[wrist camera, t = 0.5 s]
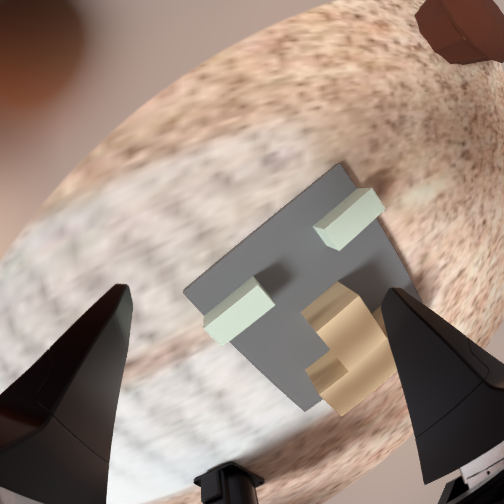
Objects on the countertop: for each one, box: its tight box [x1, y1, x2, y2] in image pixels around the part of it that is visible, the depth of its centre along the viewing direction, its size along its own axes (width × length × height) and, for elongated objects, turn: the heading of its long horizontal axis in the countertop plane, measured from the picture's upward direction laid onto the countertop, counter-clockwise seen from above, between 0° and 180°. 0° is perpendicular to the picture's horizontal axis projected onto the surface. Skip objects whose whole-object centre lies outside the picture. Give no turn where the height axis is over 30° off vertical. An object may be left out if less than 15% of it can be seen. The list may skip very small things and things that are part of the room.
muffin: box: [415, 0, 504, 65], centre depth 17 cm, size 12×11×10 cm
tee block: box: [301, 281, 397, 416], centre depth 23 cm, size 9×10×4 cm
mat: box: [183, 164, 422, 412], centre depth 24 cm, size 17×16×1 cm
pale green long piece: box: [203, 188, 385, 347], centre depth 22 cm, size 2×16×2 cm, turn 129°
